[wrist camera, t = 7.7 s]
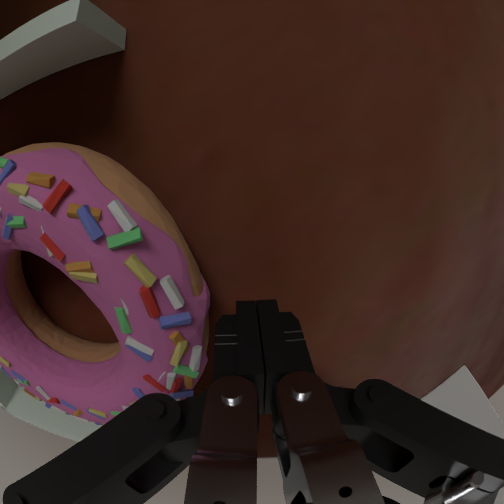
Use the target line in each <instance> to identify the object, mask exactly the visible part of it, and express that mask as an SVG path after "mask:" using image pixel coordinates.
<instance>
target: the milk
mask: <svg viewBox="0 0 504 504" xmlns="http://www.w3.org/2000/svg"><path fill="white" fill-rule="evenodd" d="M420 400H422V401H424V402H426V403H428V404H430V405H432V406H434V407H436V408H438V409H440V410H442V411H444V412H446V413H448V414H450V415H452V416H454V417H456V418H458V419H460V420H462V421H464V422H467V423H469V424H471V425H473V426H475V427H477V428H480V429H482V430H484V431H486V432H488V433H491V434H493V435H495V436H498V437H500V438H502V439H504V424H503V422H502V421H501V419H500V418H499V416H498V414H497V412H496V411H495V409H494V408H493V406H492V405H491V403H490V402H489V400H488V398H487V397H486V395H485V393H484V392H483V390H482V389H481V387H480V386H479V384H478V383H477V382H476V380H475V379H474V377H473V376H472V374H471V373H470V372H469V370H468V369H467V367H466V366H465V365H463V366H462V367H461V368H460V369H459V370H457V371H456V372H455V373H454V374H453V375H452V376H450V377H449V378H448V379H447V380H445V381H444V382H443V383H442V384H440V385H439V386H438V387H436V388H435V389H434V390H432V391H431V392H430V393H428V394H427V395H426V396H424V397H423V398H421V399H420ZM494 504H504V487H502V488H501V489H500V490H499V492H498V494H497V497H496V499H495V502H494Z"/></svg>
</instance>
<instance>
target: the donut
mask: <svg viewBox="0 0 504 504" xmlns="http://www.w3.org/2000/svg"><path fill="white" fill-rule="evenodd" d="M22 250H23V251H28V252H31V253H33V254H35V255H37V256H39V257H41V258H43V259H45V260H46V261H48V262H49V263H51V264H52V265H54V266H55V267H57V268H58V269H60V270H61V271H62V272H63V273H64V274H66V275H67V276H68V277H69V278H70V279H71V280H72V281H73V282H75V283H76V284H77V285H78V286H79V287H80V288H81V289H82V290H83V291H84V292H85V293H86V295H87V296H88V297H89V298H90V299H91V300H92V301H93V303H94V304H95V305H96V306H97V307H98V308H99V309H100V310H101V311H102V313H103V314H104V316H105V318H106V319H107V321H108V322H109V324H110V325H111V327H112V328H113V330H114V332H115V334H116V336H117V338H118V340H119V342H117V343H110V344H107V343H96V342H92V341H87V340H84V339H82V338H79V337H77V336H75V335H73V334H71V333H70V332H68V331H66V330H65V329H63V328H62V327H60V326H59V325H57V324H56V323H55V322H54V321H53V320H52V319H51V318H50V317H49V316H48V315H47V314H46V313H45V312H44V311H43V310H42V308H41V307H40V306H39V305H38V304H37V302H36V300H35V299H34V297H33V295H32V293H31V291H30V289H29V288H28V285H27V282H26V280H25V277H24V273H23V269H22V260H21V251H22ZM209 307H210V292H209V289H208V286H207V284H206V282H205V280H204V278H203V276H202V274H201V273H200V271H199V267H198V265H197V263H196V261H195V259H194V257H193V255H192V253H191V251H190V249H189V247H188V245H187V243H186V241H185V239H184V237H183V236H182V234H181V232H180V230H179V228H178V227H177V225H176V223H175V221H174V219H173V218H172V216H171V215H170V214H169V213H168V211H167V210H166V209H165V207H164V206H163V205H162V204H161V202H160V201H159V200H158V198H157V197H156V196H155V195H154V194H153V192H152V191H151V190H150V189H149V188H148V187H147V186H146V185H144V184H143V183H142V182H141V181H140V180H138V179H137V178H136V177H135V176H134V175H133V174H131V173H130V172H129V171H128V170H127V169H125V168H124V167H123V166H122V165H121V164H119V163H117V162H116V161H114V160H113V159H111V158H110V157H108V156H106V155H103V154H101V153H98V152H96V151H93V150H91V149H88V148H86V147H82V146H79V145H73V144H67V143H61V142H50V143H37V144H31V145H28V146H25V147H22V148H19V149H16V150H14V151H11V152H8V153H6V154H5V155H3V156H0V368H1V369H2V370H3V371H4V372H5V373H6V374H7V375H8V376H9V377H10V378H12V377H13V378H14V381H15V382H16V383H17V384H18V385H19V386H20V387H22V386H23V387H24V392H26V393H27V394H29V395H30V396H32V397H33V398H35V399H38V400H39V401H42V400H43V401H44V402H46V404H45V406H46V407H47V408H49V409H50V407H51V406H52V407H53V408H55V409H56V410H58V411H59V412H61V413H63V414H64V415H66V414H67V415H72V416H74V418H76V419H79V420H82V421H85V422H88V423H89V422H90V421H91V422H94V423H95V424H96V425H104V424H106V423H107V422H108V421H110V420H111V419H112V418H114V417H115V416H117V415H118V414H119V413H121V412H122V411H124V410H125V409H126V408H128V407H129V406H130V405H132V404H133V403H134V402H136V401H137V400H138V399H140V398H141V397H143V396H145V395H147V394H151V393H163V394H167V395H169V396H171V397H173V398H174V399H175V400H176V401H179V400H184V399H186V398H187V397H191V396H193V393H194V390H192V389H193V388H194V386H195V384H196V383H197V381H198V380H199V378H200V377H201V375H202V373H203V371H204V368H205V366H206V364H207V362H208V358H207V354H206V352H207V346H208V341H209V312H208V310H209Z"/></svg>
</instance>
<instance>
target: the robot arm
mask: <svg viewBox="0 0 504 504" xmlns="http://www.w3.org/2000/svg"><path fill="white" fill-rule="evenodd" d="M263 405H264V414H272V421H273V429H272V434H273V439H274V443H275V447H276V452H277V456H278V461H279V465H280V469H281V473H282V478H283V490H284V496H285V501H286V504H400V503H398V502H396V501H394V500H392V499H390V498H387V497H384V496H382V495H381V493H380V490H379V488H378V485H377V483H376V480H375V478H374V475H373V473H372V471H374V472H375V473H378V474H379V475H381V476H382V477H384V478H386V479H388V480H390V481H392V482H393V483H395V484H397V485H399V486H401V487H403V488H405V489H407V490H410V491H411V492H413V493H415V494H418V495H420V496H422V497H424V498H425V501H424V504H494V502H495V499H496V497H497V494H498V492H499V490H500V489H501V488H502V487H504V439H502V438H500V437H498V436H495V435H493V434H491V433H488V432H486V431H484V430H482V429H480V428H477V427H475V426H473V425H471V424H469V423H467V422H464V421H462V420H460V419H458V418H456V417H454V416H452V415H450V414H448V413H446V412H444V411H442V410H440V409H438V408H436V407H434V406H432V405H430V404H428V403H426V402H424V401H422V400H420V399H418V398H416V397H414V396H412V395H410V394H408V393H407V392H405V391H403V390H401V389H399V388H397V387H395V386H393V385H392V384H390V383H388V382H386V381H383V380H380V379H369V380H366V381H363V382H362V383H360V384H359V385H358V386H357V388H356V389H350V388H340V387H334V386H331V385H328V384H326V383H324V382H323V381H322V379H321V378H319V377H318V376H317V375H316V374H315V371H314V368H313V365H312V362H311V358H310V355H309V352H308V349H307V345H306V342H305V340H304V336H303V332H302V329H301V326H300V323H299V320H298V319H297V318H296V317H295V316H294V315H293V314H292V313H291V312H279V310H278V305H277V301H276V299H274V300H257V301H256V302H255V300H254V301H236V315H222V316H221V318H220V319H219V321H218V322H217V323H216V332H215V348H214V364H213V378H212V382H211V384H210V386H209V387H208V388H207V389H206V390H205V391H204V392H203V393H201V394H200V395H197V396H195V397H192V398H188V399H184V400H179V401H176V400H175V399H174V398H173V397H171V396H169V395H167V394H163V393H151V394H147V395H145V396H143V397H141V398H140V399H138V400H137V401H136V402H134V403H133V404H132V405H130V406H129V407H128V408H126V409H125V410H124V411H122V412H121V413H119V414H118V415H117V416H115V417H114V418H112V419H111V420H110V421H108V422H107V423H106V424H104V425H103V426H101V427H100V428H98V429H97V430H96V431H94V432H93V433H91V434H90V435H88V436H87V437H85V438H84V439H83V440H81V441H80V442H78V443H77V444H75V445H74V446H72V447H71V448H69V449H68V450H66V451H65V452H63V453H62V454H60V455H59V456H57V457H55V458H54V459H52V460H51V461H49V462H48V463H46V464H45V465H43V466H41V467H40V468H38V469H36V470H35V471H34V472H32V473H30V474H28V475H27V476H25V477H24V478H21V479H20V480H18V481H16V482H15V483H13V484H11V485H9V486H8V487H7V488H6V489H5V491H4V494H3V504H143V503H145V502H146V501H147V500H148V499H150V498H151V497H152V496H154V495H155V494H156V493H157V492H158V491H160V490H161V489H162V488H163V487H165V486H166V485H167V484H168V483H169V482H170V481H172V480H173V479H174V478H175V477H176V476H177V475H178V474H180V472H182V471H183V470H184V469H185V468H186V467H187V466H188V465H190V466H189V473H188V479H187V486H186V494H185V500H184V504H256V500H257V495H256V493H257V490H256V489H257V434H258V431H259V415H263ZM371 470H372V471H371Z"/></svg>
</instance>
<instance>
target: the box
mask: <svg viewBox="0 0 504 504" xmlns="http://www.w3.org/2000/svg"><path fill="white" fill-rule="evenodd" d="M125 40H126V29H124V28H123V27H122V26H121V25H120V24H118V23H117V22H116V21H115V20H113V19H112V18H111V17H110V16H108V15H107V14H106V13H104V12H103V11H102V10H101V9H99V8H98V7H97V6H95V5H94V4H93V3H91V2H90V1H89V0H69V1H67V2H65V3H63V4H61V5H58V6H56V7H54V8H52V9H50V10H49V11H47V12H45V13H43V14H41V15H39V16H37V17H36V18H34V19H32V20H30V21H29V22H27V23H25V24H24V25H22V26H21V27H19V28H17V29H16V30H14V31H13V32H11V33H10V34H8V35H7V36H6V37H4V38H3V39H1V40H0V100H1V99H3V98H4V97H6V96H8V95H10V94H11V93H13V92H15V91H17V90H19V89H21V88H23V87H25V86H27V85H29V84H31V83H33V82H35V81H37V80H39V79H41V78H44V77H46V76H48V75H50V74H53V73H55V72H58V71H60V70H63V69H65V68H68V67H71V66H73V65H76V64H79V63H82V62H85V61H88V60H91V59H94V58H97V57H101V56H104V55H108V54H111V53H115V52H119V51H123V50H125ZM45 404H46V402H44V401H43V400H42V401H39V400H38V399H35V398H33V397H32V396H30V395H29V394H27V393H26V392H24V387H23V386H22V387H20V386H19V385H18V384H17V383H16V382H15V381H14V378H13V377H12V378H10V377H9V376H8V375H7V374H6V373H5V372H4V371H3V370H2V369H1V368H0V406H1V407H2V408H3V410H4V411H5V412H6V413H8V414H11V415H12V416H14V417H16V418H18V419H21V420H23V421H25V422H27V423H29V424H32V425H34V426H36V427H39V428H41V429H43V430H46V431H49V432H51V433H54V434H56V435H59V436H62V437H65V438H68V439H71V440H74V441H77V442H80V441H81V440H83V439H84V438H85V437H87V436H88V435H90V434H91V433H93V432H94V431H96V430H97V429H98V428H100V427H101V426H103V425H96V424H95V423H94V422H91V421H90V422H89V423H88V422H85V421H82V420H79V419H76V418H74V416H72V415H67V414H66V415H64V414H63V413H61V412H59V411H58V410H56V409H55V408H53V407H52V406H51V407H50V409H49V408H47V407H46V406H45Z"/></svg>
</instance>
